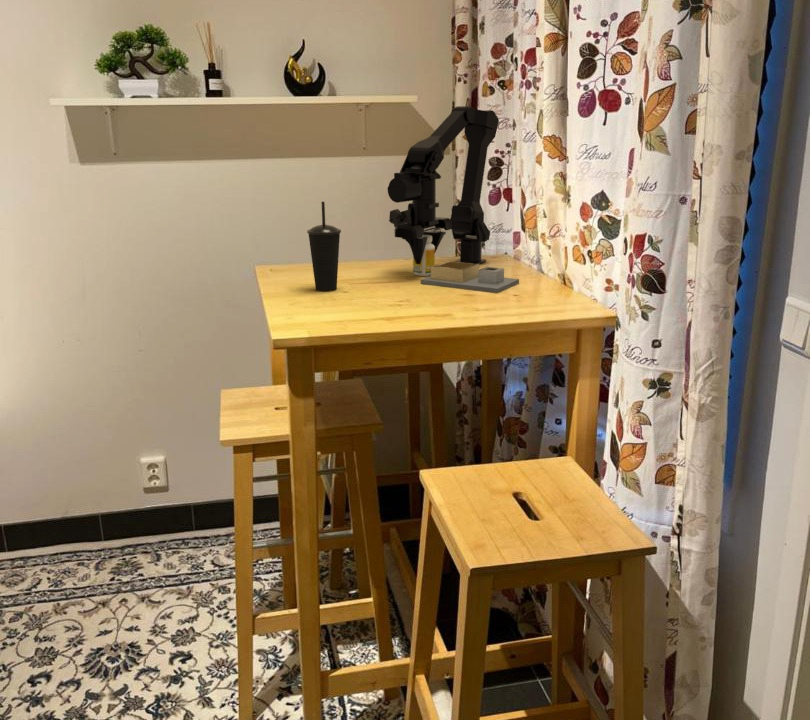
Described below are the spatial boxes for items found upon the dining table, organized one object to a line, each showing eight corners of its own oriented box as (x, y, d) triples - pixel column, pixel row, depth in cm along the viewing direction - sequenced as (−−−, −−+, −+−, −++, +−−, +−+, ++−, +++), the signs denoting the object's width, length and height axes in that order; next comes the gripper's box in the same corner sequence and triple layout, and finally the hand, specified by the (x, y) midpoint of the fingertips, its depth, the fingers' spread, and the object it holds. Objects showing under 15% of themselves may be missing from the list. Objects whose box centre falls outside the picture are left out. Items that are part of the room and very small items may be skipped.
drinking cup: (322, 294, 177) (318, 204, 171) (303, 289, 183) (299, 201, 176) (349, 289, 182) (346, 201, 176) (329, 284, 187) (326, 199, 181)
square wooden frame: (447, 272, 194) (448, 260, 193) (478, 276, 190) (479, 264, 189) (430, 279, 187) (430, 266, 186) (462, 282, 183) (462, 270, 182)
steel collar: (486, 279, 187) (486, 266, 186) (503, 281, 185) (504, 268, 184) (478, 282, 183) (478, 269, 182) (495, 284, 181) (496, 271, 180)
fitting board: (445, 274, 197) (445, 271, 197) (519, 283, 187) (519, 279, 187) (420, 283, 187) (420, 279, 187) (497, 293, 177) (497, 288, 177)
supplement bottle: (412, 276, 195) (412, 237, 192) (413, 271, 201) (413, 234, 198) (434, 276, 195) (434, 237, 192) (435, 272, 200) (435, 234, 197)
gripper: (415, 193, 204) (415, 253, 208) (375, 201, 189) (376, 265, 193) (453, 195, 198) (452, 257, 203) (415, 203, 183) (415, 269, 188)
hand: (424, 262), depth 197 cm, fingers closed on supplement bottle, 5 cm apart
